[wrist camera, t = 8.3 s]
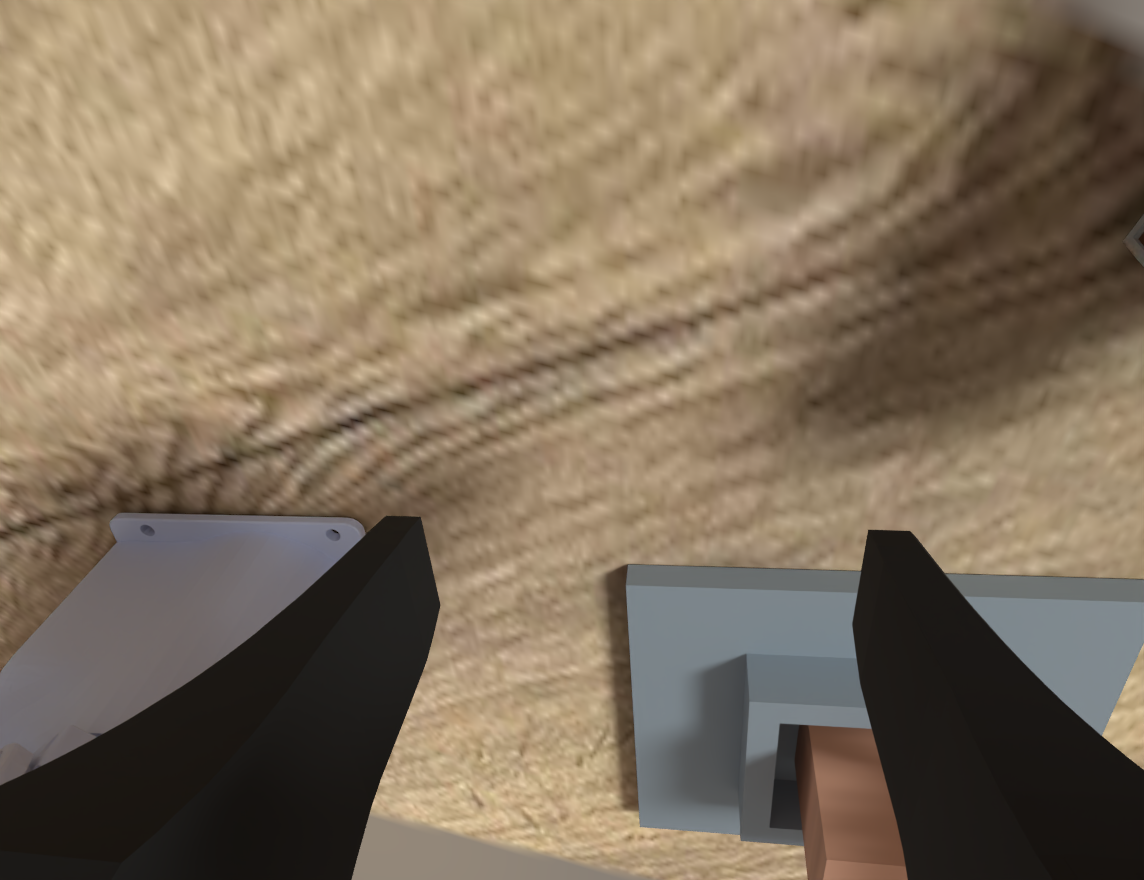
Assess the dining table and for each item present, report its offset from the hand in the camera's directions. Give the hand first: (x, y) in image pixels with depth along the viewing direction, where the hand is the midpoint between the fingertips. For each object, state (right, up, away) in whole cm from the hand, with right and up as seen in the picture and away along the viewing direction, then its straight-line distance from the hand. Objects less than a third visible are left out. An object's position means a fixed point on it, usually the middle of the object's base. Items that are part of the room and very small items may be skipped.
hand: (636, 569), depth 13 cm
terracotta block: (+9, -8, +16) cm, 20 cm away
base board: (+9, -8, +16) cm, 21 cm away
